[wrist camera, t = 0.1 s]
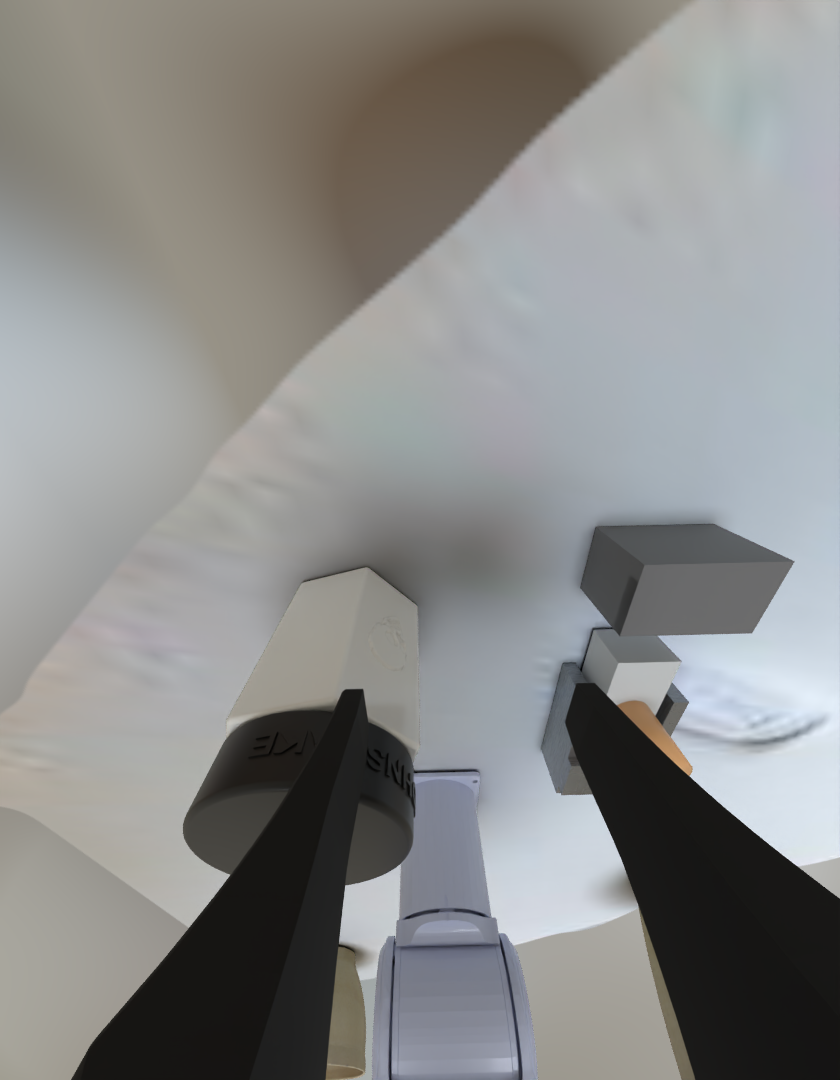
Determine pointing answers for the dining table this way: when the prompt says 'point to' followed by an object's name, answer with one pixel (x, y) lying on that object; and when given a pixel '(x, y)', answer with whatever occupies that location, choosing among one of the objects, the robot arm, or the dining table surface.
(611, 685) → the slab with tan knob
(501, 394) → the dining table surface
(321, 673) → the jar
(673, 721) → the sleeve
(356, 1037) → the planter bowl
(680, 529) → the dark gray rectangular block
